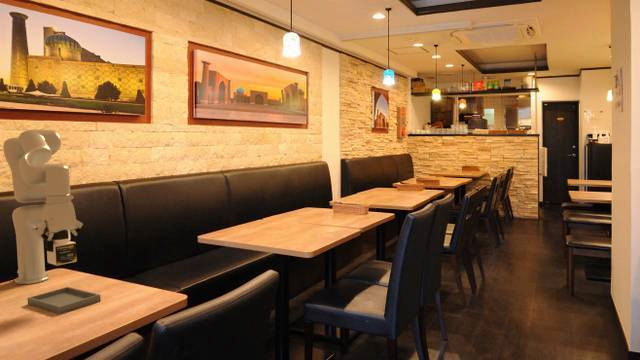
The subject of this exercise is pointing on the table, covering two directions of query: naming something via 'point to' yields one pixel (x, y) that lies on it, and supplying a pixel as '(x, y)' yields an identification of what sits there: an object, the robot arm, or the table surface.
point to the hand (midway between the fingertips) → (61, 248)
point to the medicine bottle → (62, 249)
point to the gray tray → (63, 300)
